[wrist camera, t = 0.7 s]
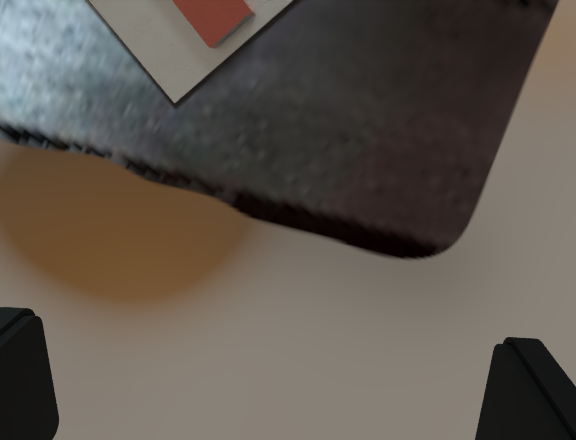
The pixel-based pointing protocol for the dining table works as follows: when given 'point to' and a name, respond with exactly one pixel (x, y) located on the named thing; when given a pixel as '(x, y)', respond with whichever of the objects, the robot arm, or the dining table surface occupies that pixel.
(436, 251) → the dining table surface
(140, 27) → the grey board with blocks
